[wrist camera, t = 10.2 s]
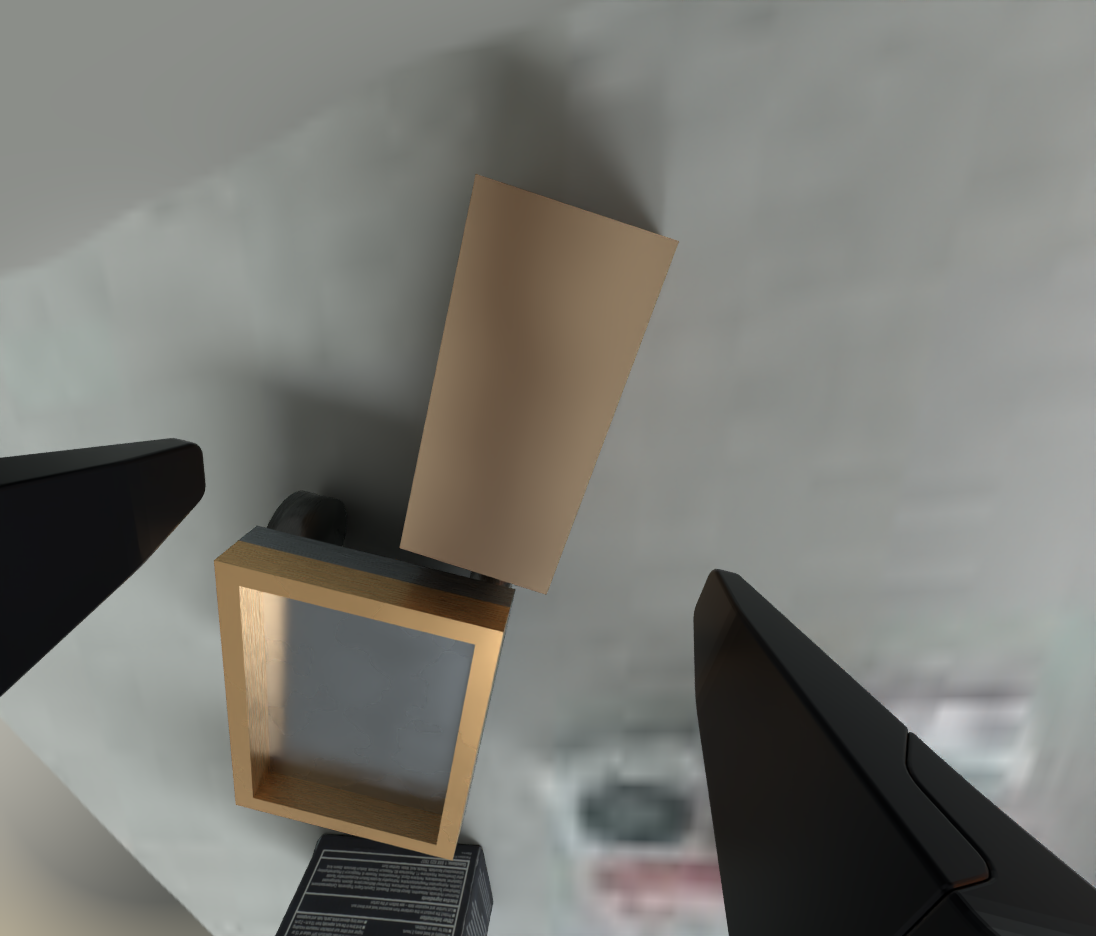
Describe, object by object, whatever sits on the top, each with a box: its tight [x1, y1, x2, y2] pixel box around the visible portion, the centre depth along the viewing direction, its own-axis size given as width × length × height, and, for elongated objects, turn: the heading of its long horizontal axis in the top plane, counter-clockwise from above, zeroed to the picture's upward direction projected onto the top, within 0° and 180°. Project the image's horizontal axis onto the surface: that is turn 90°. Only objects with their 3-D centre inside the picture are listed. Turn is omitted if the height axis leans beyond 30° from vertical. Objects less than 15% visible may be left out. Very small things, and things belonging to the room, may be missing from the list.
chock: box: [400, 174, 679, 594], centre depth 17 cm, size 5×11×5 cm, turn 163°
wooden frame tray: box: [214, 491, 515, 861], centre depth 22 cm, size 10×14×6 cm
